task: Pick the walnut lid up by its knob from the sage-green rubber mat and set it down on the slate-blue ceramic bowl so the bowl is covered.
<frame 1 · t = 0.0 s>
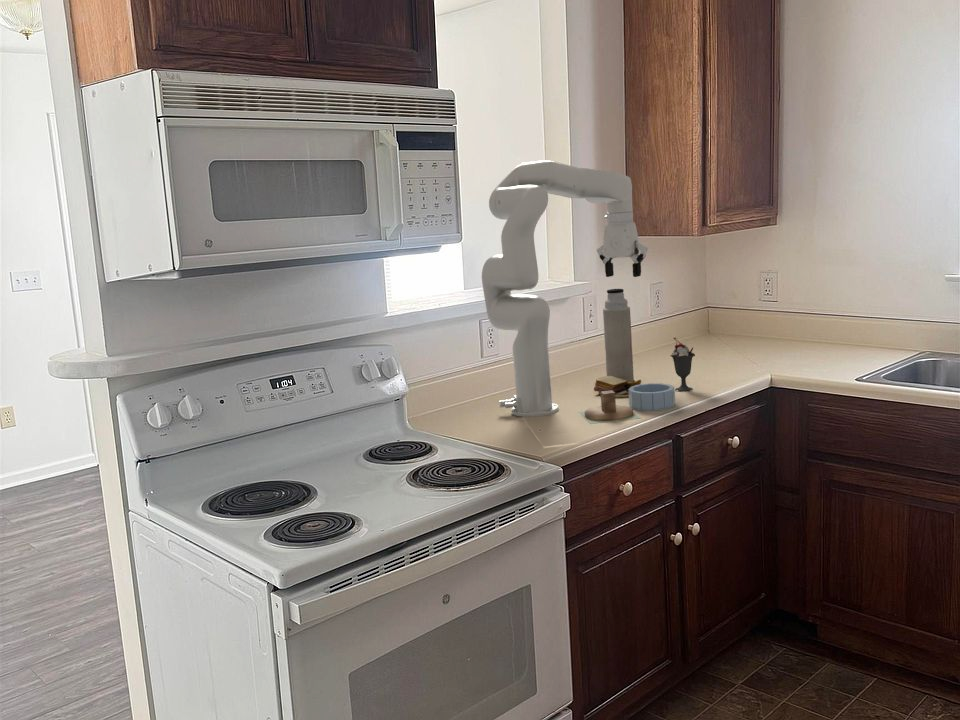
hand: (623, 276, 264), 31 cm above the worktop, tool pointing down, fingers open, 9 cm apart
mat: (609, 416, 227), on the worktop
thermos bottle: (620, 382, 266), on the worktop
sundae: (683, 390, 249), on the worktop
lid: (609, 414, 227), resting on mat
bowl: (652, 406, 233), on the worktop
toy sandwich meal: (618, 395, 250), on the worktop
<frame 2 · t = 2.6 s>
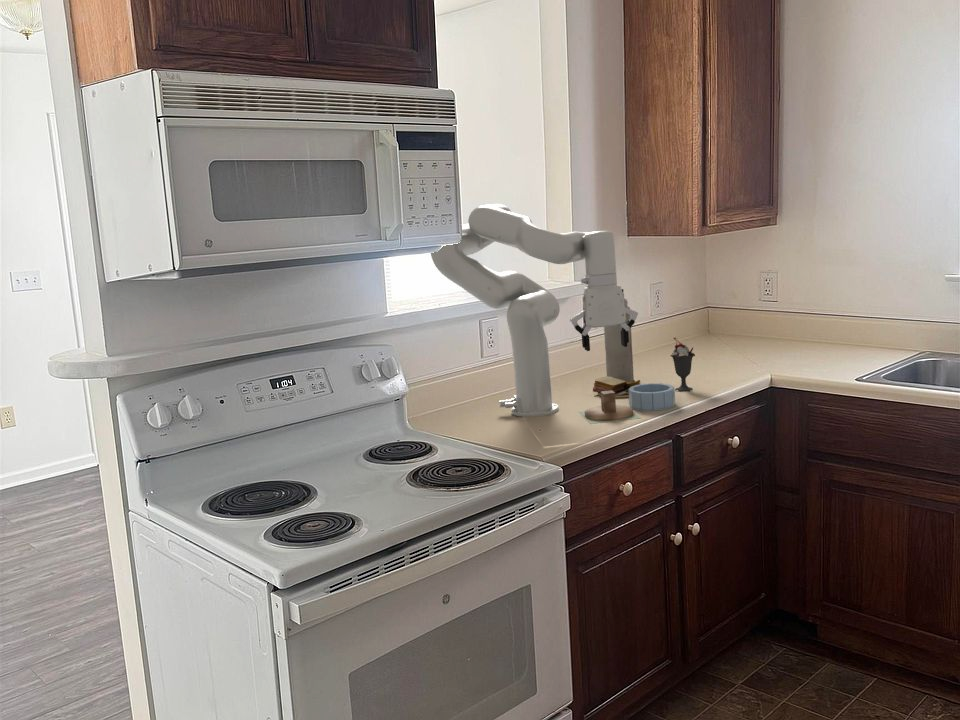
hand: (605, 348, 224), 18 cm above the worktop, tool pointing down, fingers open, 9 cm apart
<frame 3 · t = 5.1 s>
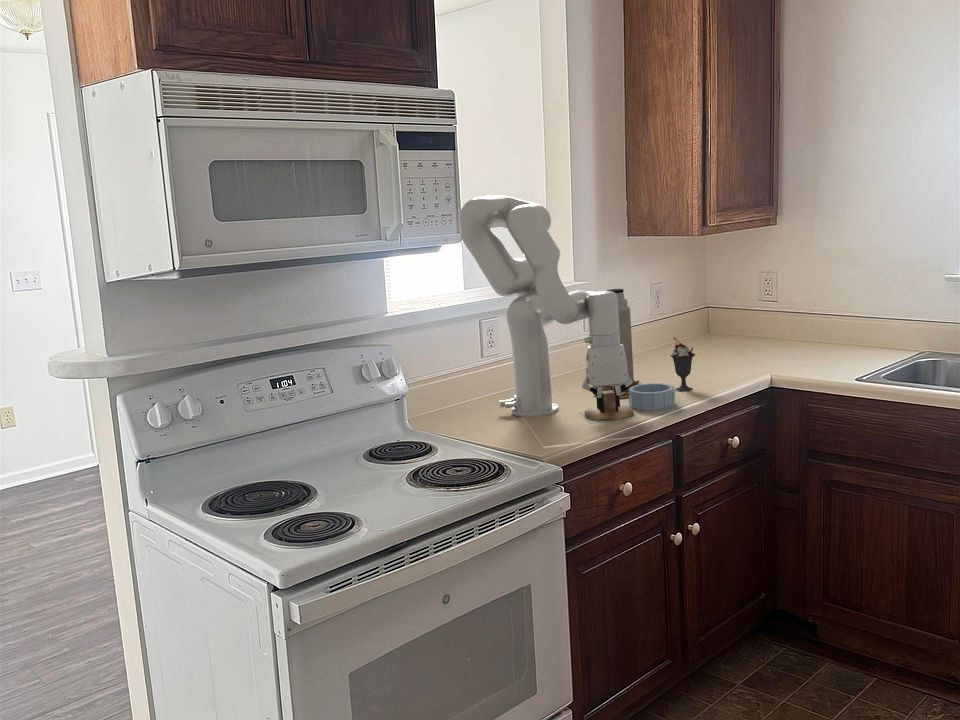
hand: (608, 410, 227), 2 cm above the worktop, tool pointing down, fingers closed on lid, 3 cm apart
lid: (608, 414, 227), resting on mat, touching gripper
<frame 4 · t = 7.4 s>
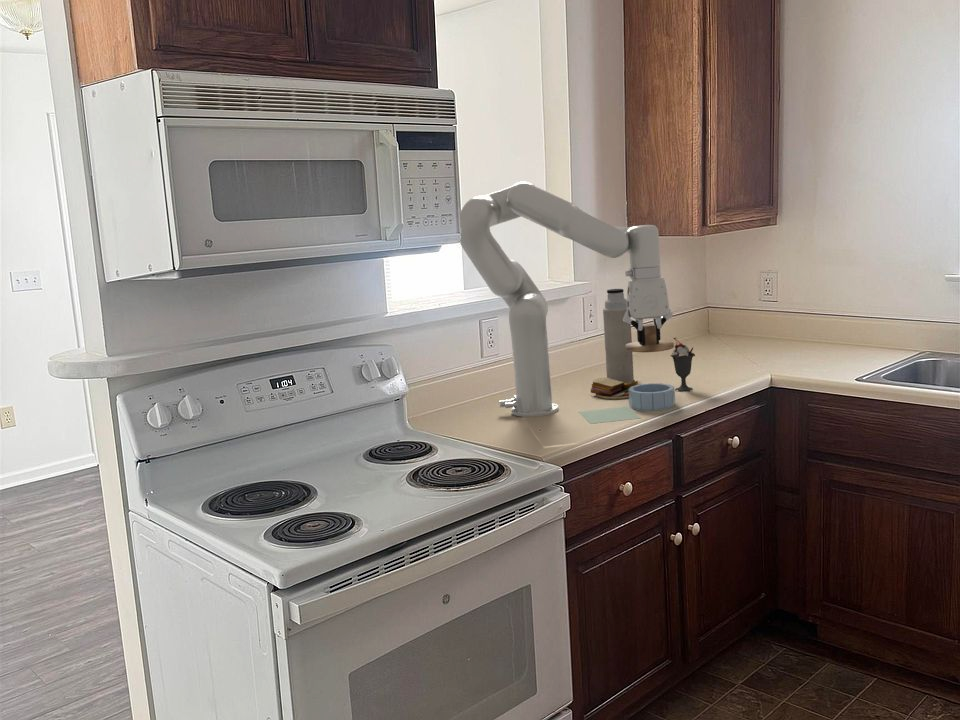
hand: (649, 343, 230), 17 cm above the worktop, tool pointing down, fingers closed on lid, 3 cm apart
lid: (649, 347, 230), point 16 cm above the worktop, touching gripper
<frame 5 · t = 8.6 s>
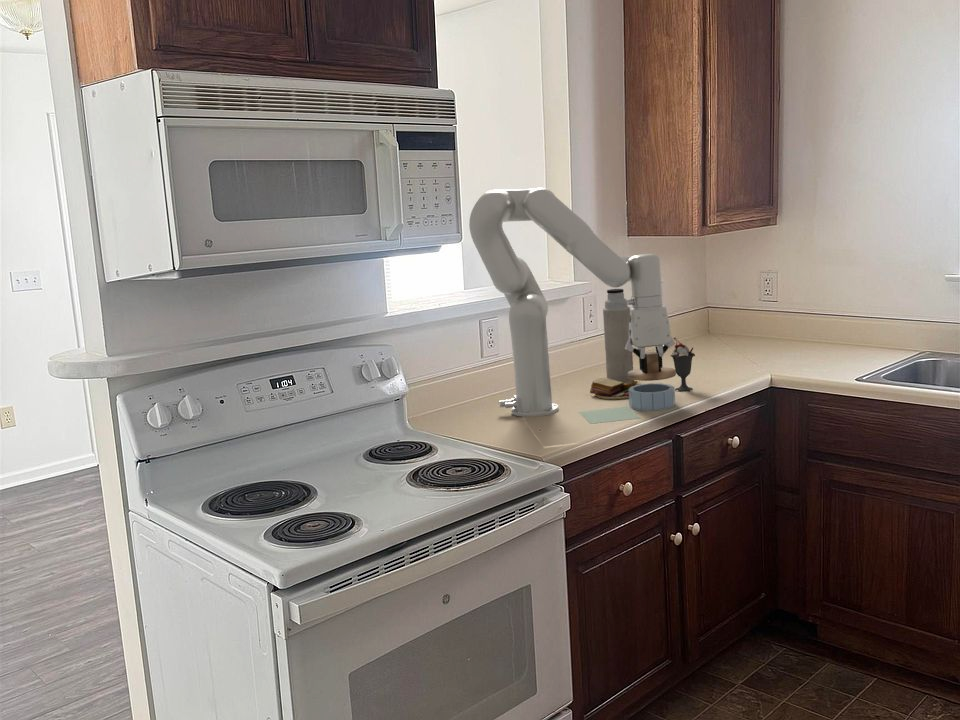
hand: (651, 371, 231), 10 cm above the worktop, tool pointing down, fingers closed on lid, 3 cm apart
lid: (651, 375, 231), point 8 cm above the worktop, touching gripper
when the fingers open (8 cm above the worktop, at t = 9.6 s): lid drops 1 cm, resting on bowl.
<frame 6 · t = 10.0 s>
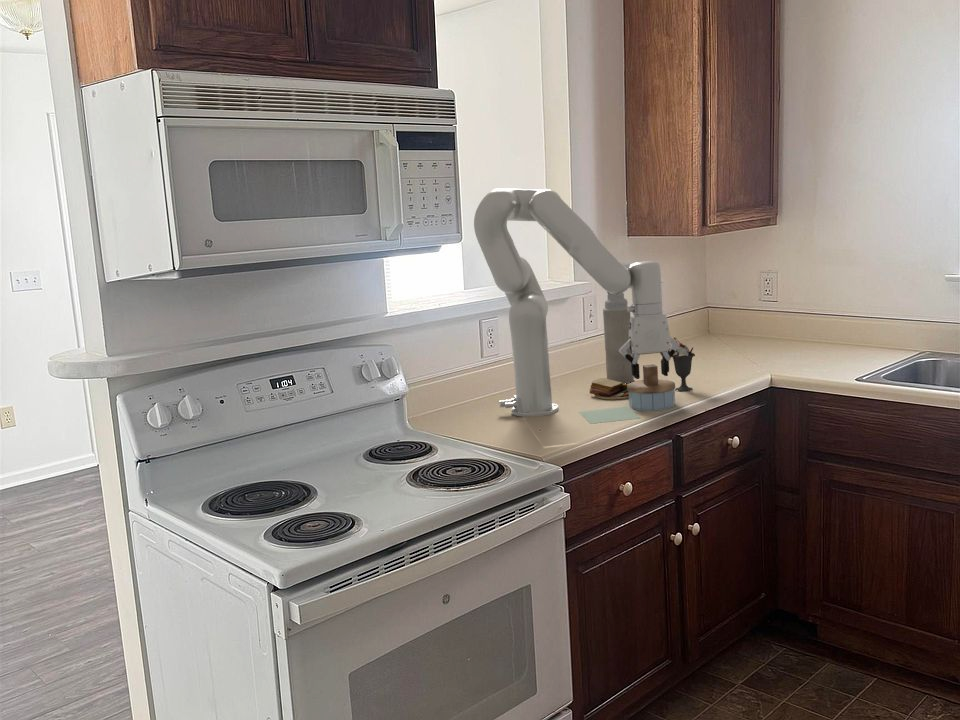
hand: (650, 376, 232), 8 cm above the worktop, tool pointing down, fingers open, 7 cm apart
lid: (651, 388, 232), point 5 cm above the worktop, touching bowl
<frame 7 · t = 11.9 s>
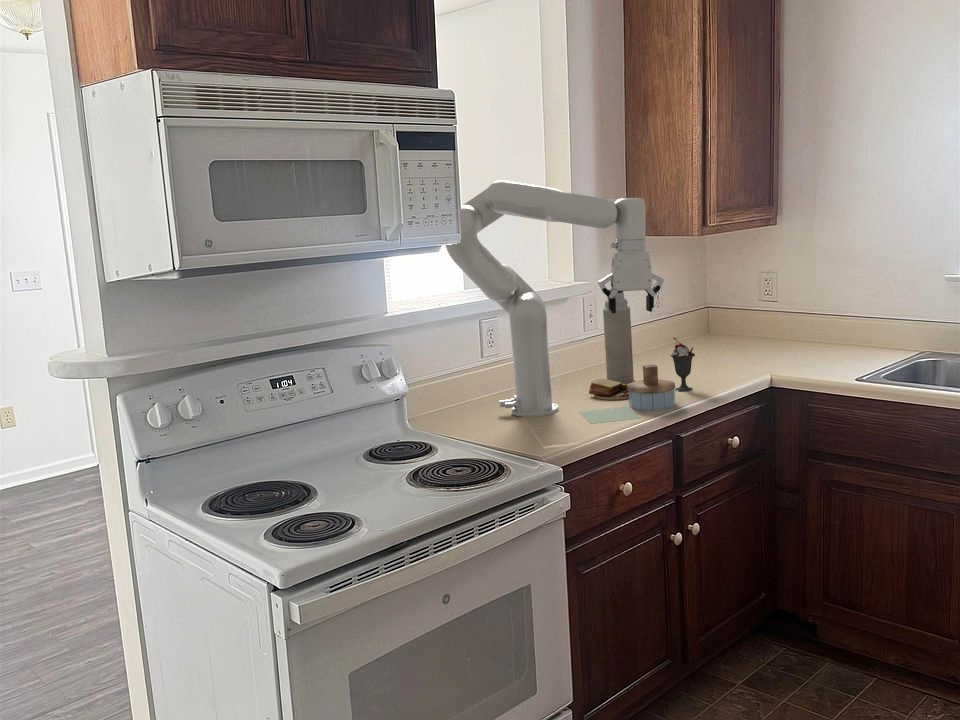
hand: (631, 312, 232), 25 cm above the worktop, tool pointing down, fingers open, 9 cm apart
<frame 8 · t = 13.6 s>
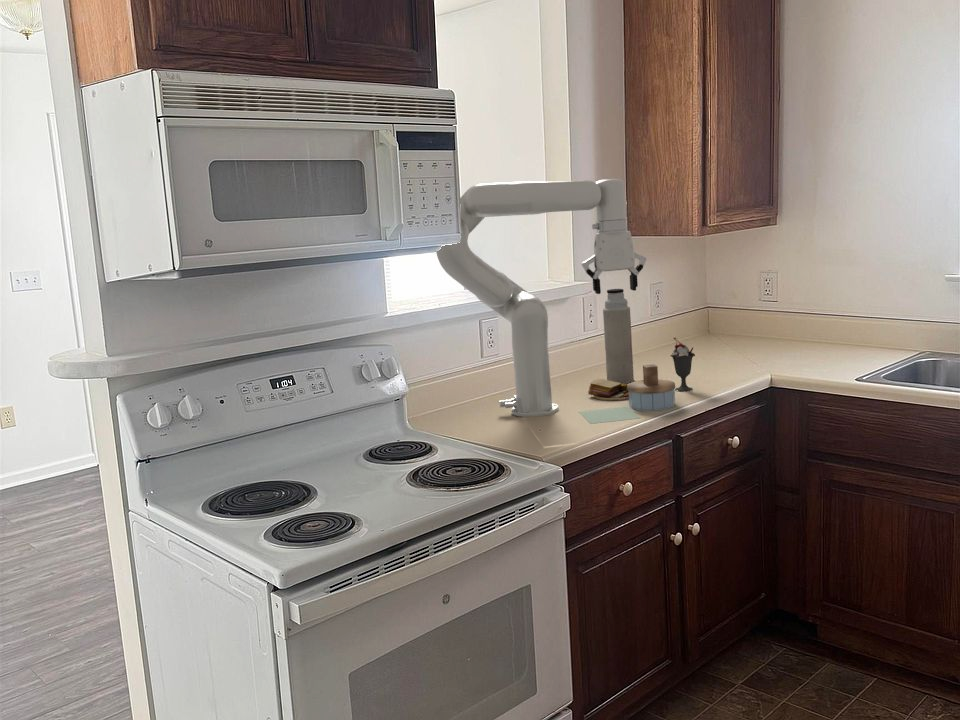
hand: (615, 291, 235), 30 cm above the worktop, tool pointing down, fingers open, 9 cm apart
at the end: lid 0.1 cm from the bowl (horizontally); lid 0.1 cm off-centre on the bowl, point 5.0 cm above the bowl's base; lid tilted 0° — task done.
